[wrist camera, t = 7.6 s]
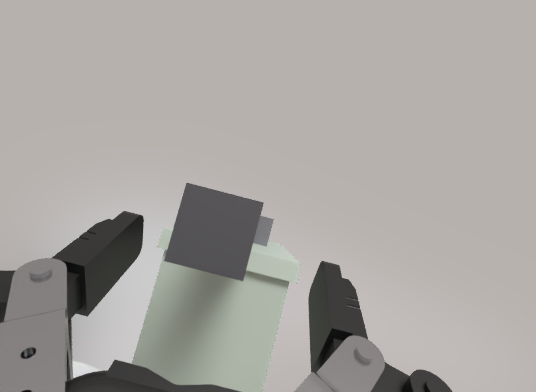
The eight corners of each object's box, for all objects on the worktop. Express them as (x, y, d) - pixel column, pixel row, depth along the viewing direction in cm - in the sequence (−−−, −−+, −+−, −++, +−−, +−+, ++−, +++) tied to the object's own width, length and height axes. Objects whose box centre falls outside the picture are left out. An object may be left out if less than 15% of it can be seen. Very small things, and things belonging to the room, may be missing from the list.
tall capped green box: (185, 743, 19) (301, 263, 22) (22, 704, 19) (162, 227, 22) (223, 469, 40) (280, 244, 43) (146, 450, 40) (209, 225, 43)
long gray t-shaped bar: (282, 291, 11) (302, 212, 11) (124, 250, 10) (148, 172, 11) (265, 242, 36) (271, 219, 37) (219, 230, 36) (225, 208, 37)
